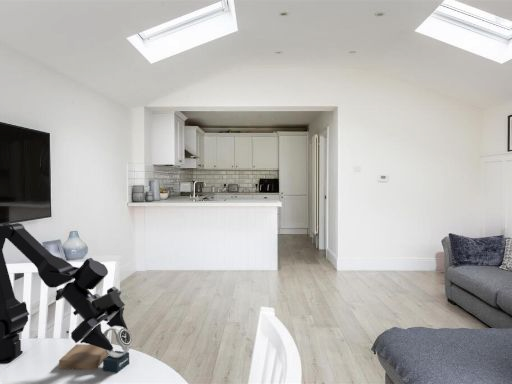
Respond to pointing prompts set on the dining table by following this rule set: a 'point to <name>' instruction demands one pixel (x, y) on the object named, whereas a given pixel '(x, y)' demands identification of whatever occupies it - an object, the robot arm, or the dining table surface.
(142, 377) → the dining table surface
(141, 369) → the dining table surface
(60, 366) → the plinth
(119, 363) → the watch
